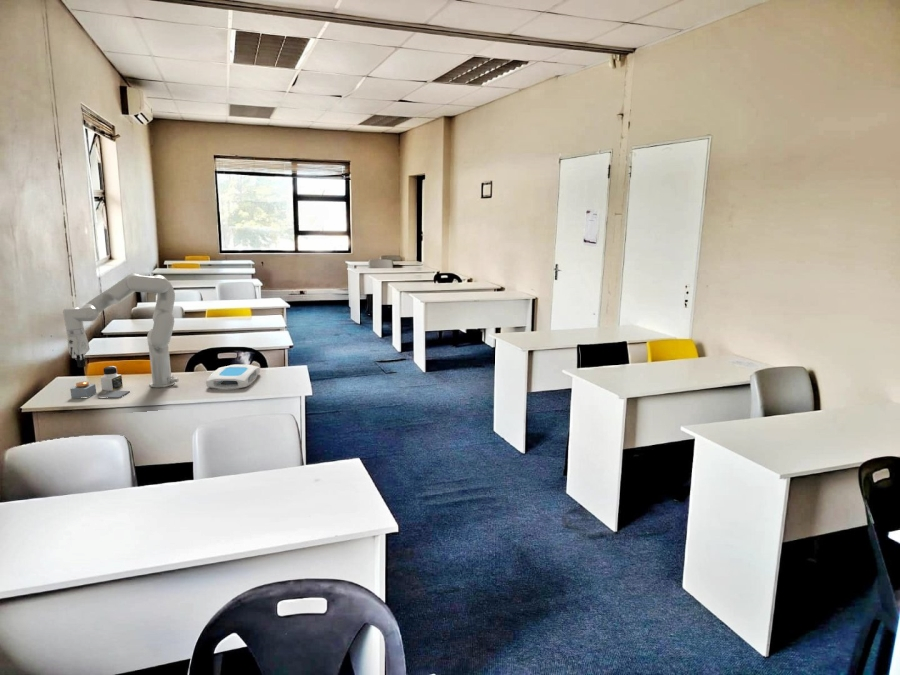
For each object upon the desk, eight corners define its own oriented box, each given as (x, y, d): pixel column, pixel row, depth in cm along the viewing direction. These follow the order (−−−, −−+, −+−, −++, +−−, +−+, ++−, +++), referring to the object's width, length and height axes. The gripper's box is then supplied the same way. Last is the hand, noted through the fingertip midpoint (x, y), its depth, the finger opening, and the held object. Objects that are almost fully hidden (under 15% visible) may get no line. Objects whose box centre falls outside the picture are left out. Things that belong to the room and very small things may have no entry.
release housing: (96, 393, 309) (95, 384, 308) (87, 398, 301) (85, 388, 300) (81, 393, 309) (79, 383, 308) (71, 398, 301) (70, 388, 300)
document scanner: (260, 374, 345) (259, 364, 344) (245, 389, 318) (244, 378, 317) (224, 374, 345) (223, 364, 343) (206, 389, 317) (205, 378, 316)
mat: (129, 392, 311) (129, 390, 311) (119, 398, 301) (119, 397, 301) (109, 392, 311) (108, 390, 310) (98, 398, 301) (97, 396, 301)
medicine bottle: (113, 391, 312) (110, 369, 310) (101, 390, 314) (98, 368, 311) (123, 387, 319) (120, 365, 316) (111, 386, 321) (109, 364, 318)
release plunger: (92, 393, 308) (91, 381, 306) (86, 397, 302) (84, 384, 301) (81, 393, 307) (80, 381, 306) (75, 397, 302) (73, 384, 301)
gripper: (73, 335, 290) (80, 371, 294) (91, 328, 304) (97, 362, 309) (58, 335, 290) (65, 371, 294) (77, 328, 304) (83, 362, 309)
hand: (81, 366), depth 302 cm, fingers closed
